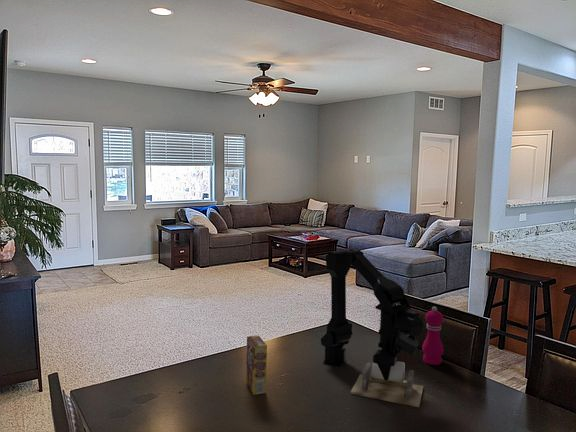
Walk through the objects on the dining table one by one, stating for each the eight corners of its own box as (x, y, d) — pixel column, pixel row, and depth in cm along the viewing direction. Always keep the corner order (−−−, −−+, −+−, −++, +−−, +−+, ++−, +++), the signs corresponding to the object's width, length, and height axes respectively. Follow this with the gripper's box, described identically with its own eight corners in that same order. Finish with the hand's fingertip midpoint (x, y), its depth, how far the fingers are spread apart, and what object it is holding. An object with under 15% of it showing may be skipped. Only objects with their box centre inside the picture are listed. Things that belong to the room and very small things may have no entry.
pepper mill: (440, 357, 163) (442, 303, 161) (445, 366, 156) (447, 310, 154) (419, 356, 164) (422, 303, 161) (423, 365, 156) (426, 309, 154)
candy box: (267, 393, 136) (267, 345, 134) (253, 395, 134) (253, 346, 133) (259, 380, 144) (259, 334, 143) (246, 382, 143) (245, 336, 141)
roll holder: (350, 393, 136) (351, 373, 136) (359, 376, 147) (360, 357, 147) (419, 407, 129) (419, 385, 128) (423, 388, 140) (424, 368, 139)
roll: (371, 380, 137) (372, 362, 136) (375, 372, 142) (375, 354, 141) (401, 386, 133) (402, 367, 132) (404, 377, 139) (405, 359, 138)
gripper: (413, 341, 124) (411, 394, 126) (420, 320, 141) (418, 367, 143) (373, 335, 128) (371, 387, 130) (384, 315, 146) (383, 361, 147)
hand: (387, 375), depth 137 cm, fingers closed on roll, 6 cm apart
